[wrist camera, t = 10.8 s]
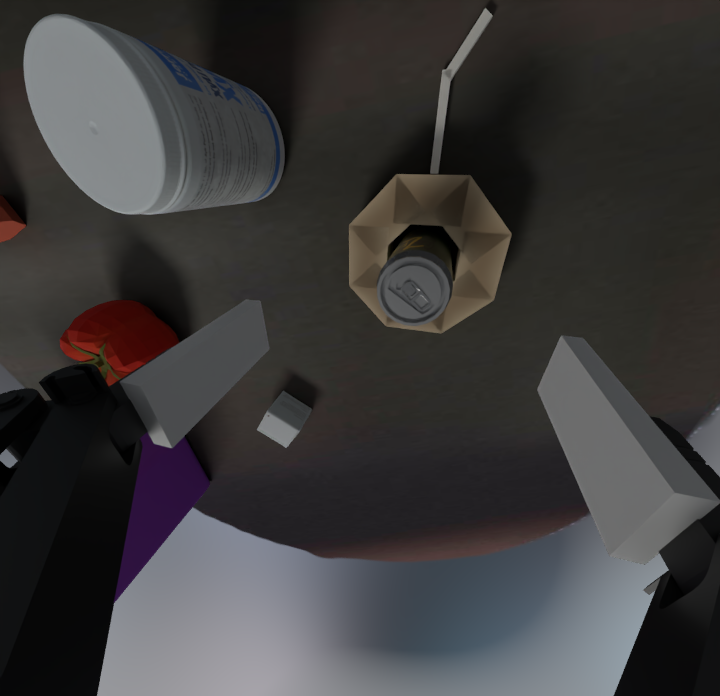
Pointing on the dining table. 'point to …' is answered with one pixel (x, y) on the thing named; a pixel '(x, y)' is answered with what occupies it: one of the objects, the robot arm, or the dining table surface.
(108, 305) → the tomato
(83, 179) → the supplement tub
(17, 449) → the robot arm
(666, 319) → the dining table surface
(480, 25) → the drinking straw
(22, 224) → the french fries container
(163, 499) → the shopping bag
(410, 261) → the beer can
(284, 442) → the small box
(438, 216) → the tan octagonal bowl
